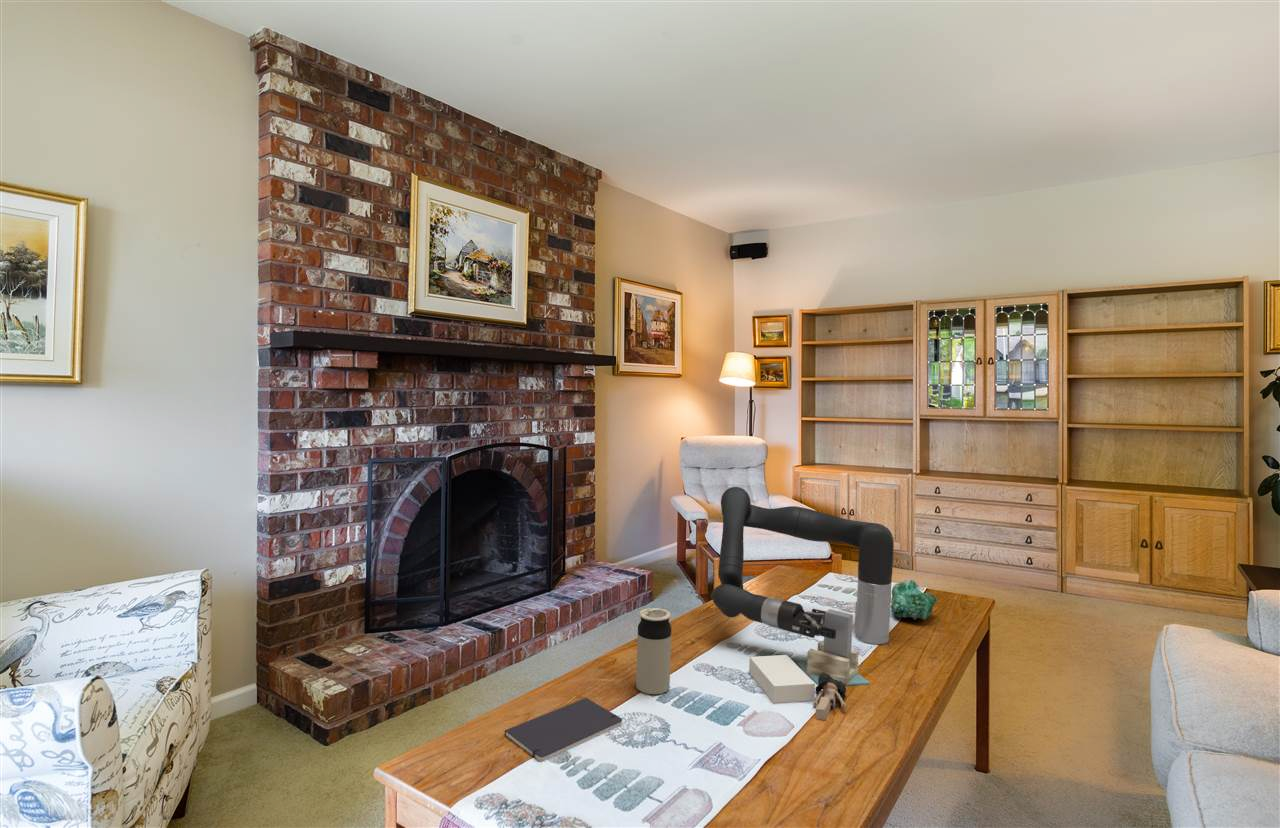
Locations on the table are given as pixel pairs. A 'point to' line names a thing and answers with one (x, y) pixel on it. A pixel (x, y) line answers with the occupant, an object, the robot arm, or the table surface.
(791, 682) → the cream flat block
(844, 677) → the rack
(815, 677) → the mat
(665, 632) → the travel mug
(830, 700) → the toy figure
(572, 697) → the table surface
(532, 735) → the notebook
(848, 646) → the grey rectangular block
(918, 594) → the mineral
